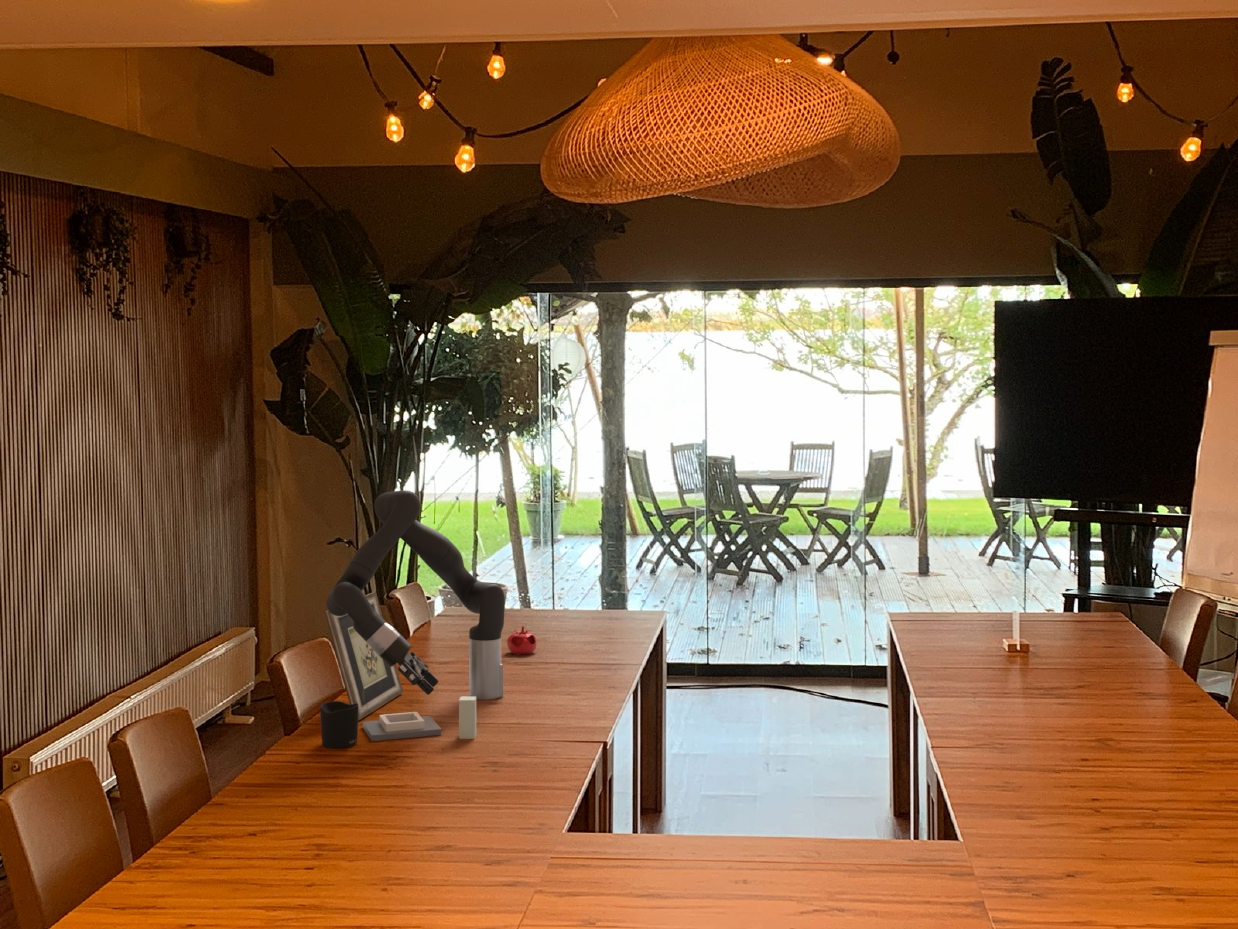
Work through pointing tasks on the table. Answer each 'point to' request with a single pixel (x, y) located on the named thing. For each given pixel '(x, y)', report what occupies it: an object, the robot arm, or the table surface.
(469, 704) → the sage block
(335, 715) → the pen holder
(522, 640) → the pomegranate
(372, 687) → the picture frame
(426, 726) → the grey base with frame
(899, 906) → the table surface
